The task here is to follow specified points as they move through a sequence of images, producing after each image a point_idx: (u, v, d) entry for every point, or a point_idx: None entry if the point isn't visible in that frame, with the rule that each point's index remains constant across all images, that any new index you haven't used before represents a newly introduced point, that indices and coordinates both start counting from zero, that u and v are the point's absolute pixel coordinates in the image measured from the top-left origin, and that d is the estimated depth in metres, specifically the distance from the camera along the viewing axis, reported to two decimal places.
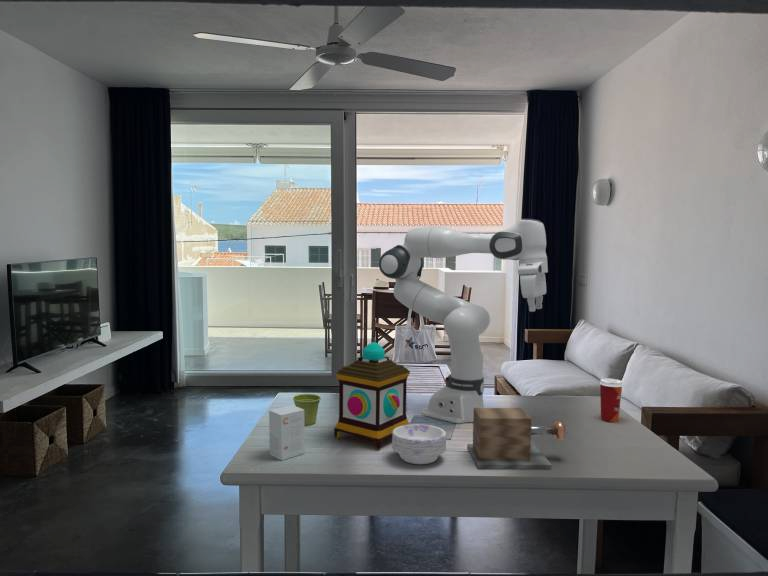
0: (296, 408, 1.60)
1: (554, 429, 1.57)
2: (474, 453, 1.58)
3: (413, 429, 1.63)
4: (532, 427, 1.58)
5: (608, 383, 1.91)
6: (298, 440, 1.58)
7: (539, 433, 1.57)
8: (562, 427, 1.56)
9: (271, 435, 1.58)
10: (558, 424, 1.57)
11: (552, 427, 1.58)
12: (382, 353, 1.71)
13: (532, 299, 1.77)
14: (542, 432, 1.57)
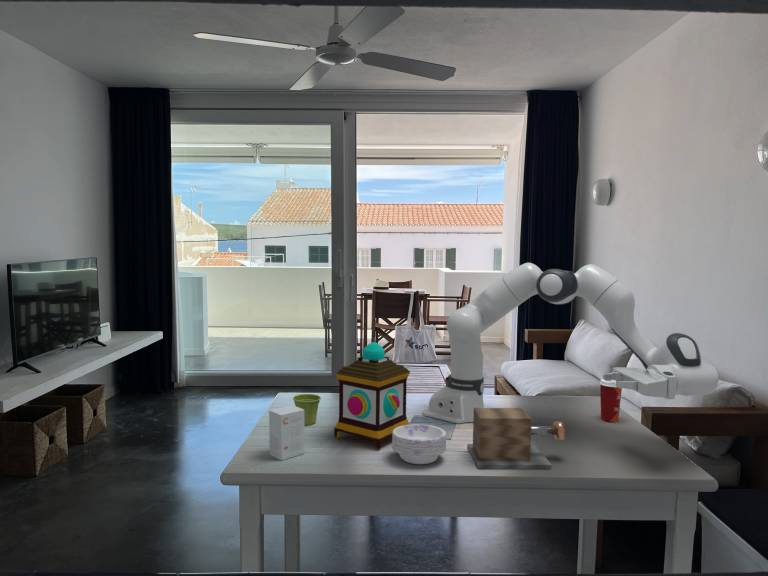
0: (296, 408, 1.60)
1: (554, 429, 1.57)
2: (474, 453, 1.58)
3: (413, 429, 1.63)
4: (532, 427, 1.58)
5: (608, 383, 1.91)
6: (298, 440, 1.58)
7: (539, 433, 1.57)
8: (562, 427, 1.56)
9: (271, 435, 1.58)
10: (558, 424, 1.57)
11: (552, 427, 1.58)
12: (382, 353, 1.71)
13: (634, 388, 1.52)
14: (542, 432, 1.57)
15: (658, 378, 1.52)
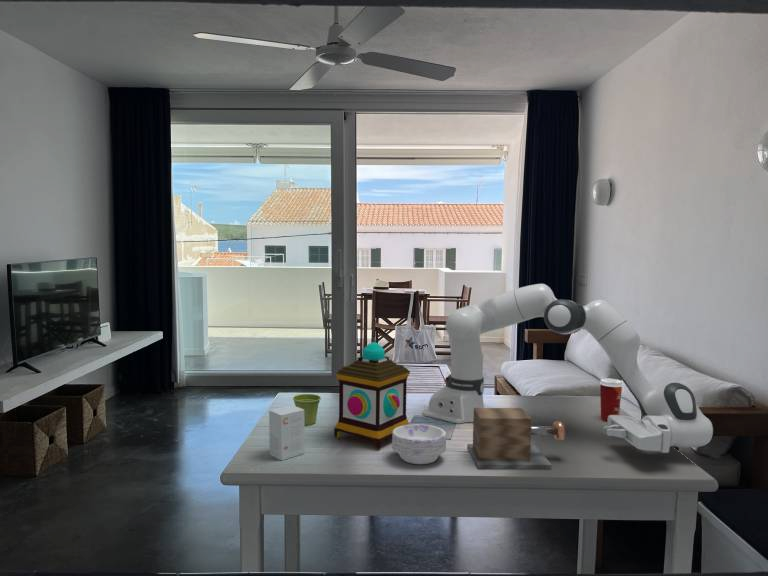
0: (296, 408, 1.60)
1: (554, 429, 1.57)
2: (474, 453, 1.58)
3: (413, 429, 1.63)
4: (532, 427, 1.58)
5: (608, 383, 1.91)
6: (298, 440, 1.58)
7: (539, 433, 1.57)
8: (562, 427, 1.56)
9: (271, 435, 1.58)
10: (558, 424, 1.57)
11: (552, 427, 1.58)
12: (382, 353, 1.71)
13: (623, 436, 1.57)
14: (542, 432, 1.57)
15: (653, 431, 1.53)
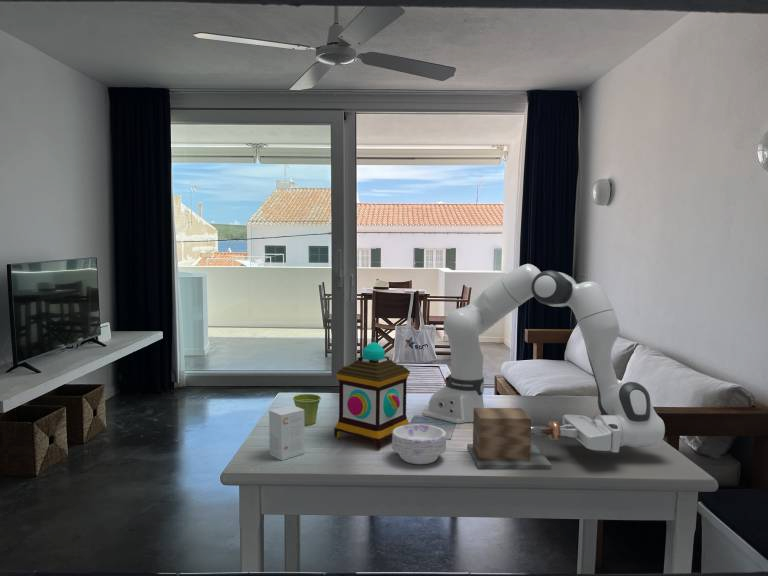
0: (296, 408, 1.60)
1: (549, 429, 1.57)
2: (474, 453, 1.58)
3: (413, 429, 1.63)
4: None
5: None
6: (298, 440, 1.58)
7: (534, 433, 1.57)
8: (557, 427, 1.56)
9: (271, 435, 1.58)
10: (553, 424, 1.57)
11: (547, 427, 1.58)
12: (382, 353, 1.71)
13: (574, 435, 1.56)
14: (537, 432, 1.57)
15: (603, 431, 1.53)
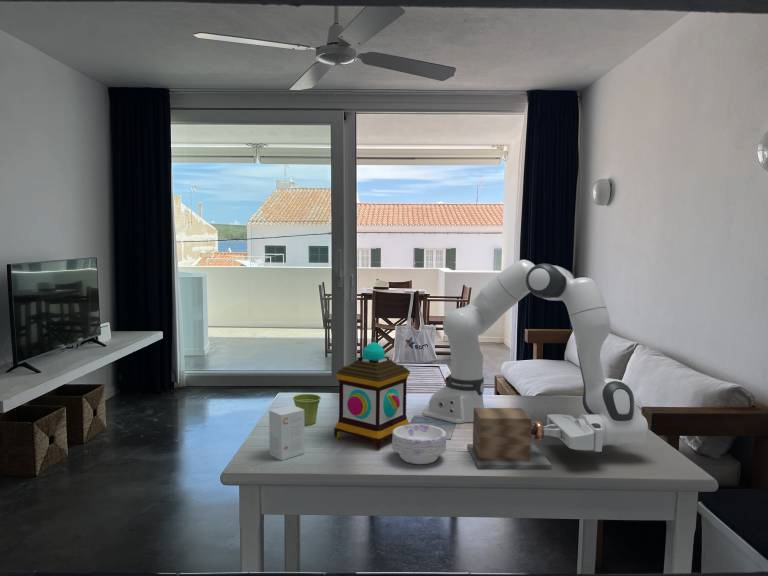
0: (296, 408, 1.60)
1: (533, 429, 1.57)
2: (474, 453, 1.58)
3: (413, 429, 1.63)
4: None
5: None
6: (298, 440, 1.58)
7: None
8: (541, 427, 1.56)
9: (271, 435, 1.58)
10: (537, 424, 1.57)
11: (531, 427, 1.58)
12: (382, 353, 1.71)
13: (557, 435, 1.56)
14: None
15: (586, 430, 1.53)
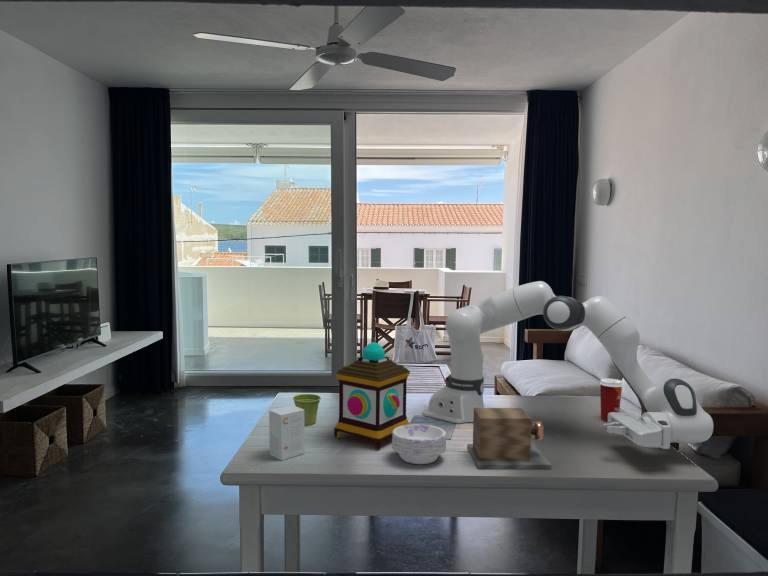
0: (296, 408, 1.60)
1: (533, 429, 1.57)
2: (474, 453, 1.58)
3: (413, 429, 1.63)
4: None
5: (608, 383, 1.91)
6: (298, 440, 1.58)
7: None
8: (541, 427, 1.56)
9: (271, 435, 1.58)
10: (537, 424, 1.57)
11: (531, 427, 1.58)
12: (382, 353, 1.71)
13: (623, 433, 1.56)
14: None
15: (653, 427, 1.53)
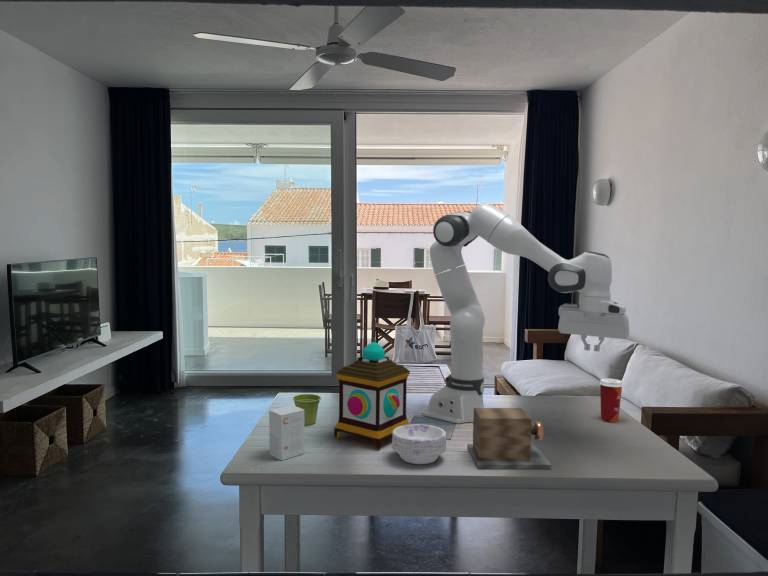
0: (296, 408, 1.60)
1: (533, 429, 1.57)
2: (474, 453, 1.58)
3: (413, 429, 1.63)
4: None
5: (608, 383, 1.91)
6: (298, 440, 1.58)
7: None
8: (541, 427, 1.56)
9: (271, 435, 1.58)
10: (537, 424, 1.57)
11: (531, 427, 1.58)
12: (382, 353, 1.71)
13: None
14: None
15: (614, 318, 1.64)
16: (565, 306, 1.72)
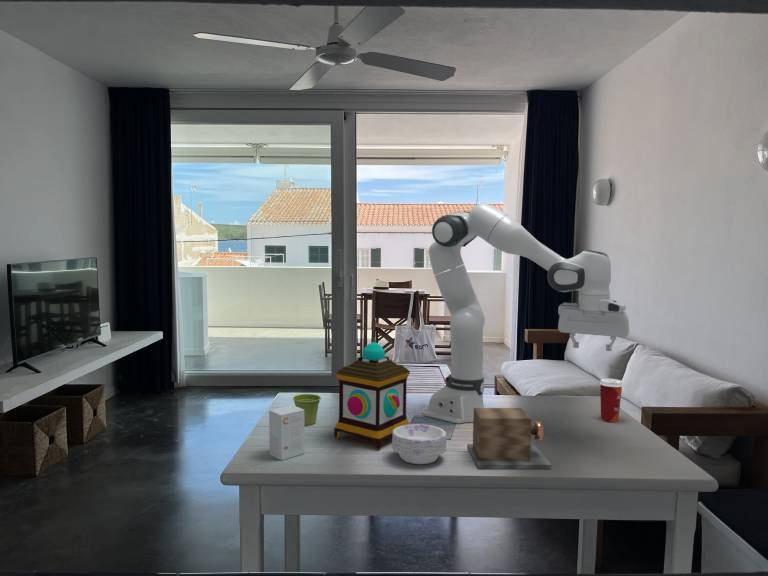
0: (296, 408, 1.60)
1: (533, 429, 1.57)
2: (474, 453, 1.58)
3: (413, 429, 1.63)
4: None
5: (608, 383, 1.91)
6: (298, 440, 1.58)
7: None
8: (541, 427, 1.56)
9: (271, 435, 1.58)
10: (537, 424, 1.57)
11: (531, 427, 1.58)
12: (382, 353, 1.71)
13: (615, 338, 1.67)
14: None
15: (614, 317, 1.64)
16: (565, 305, 1.72)
